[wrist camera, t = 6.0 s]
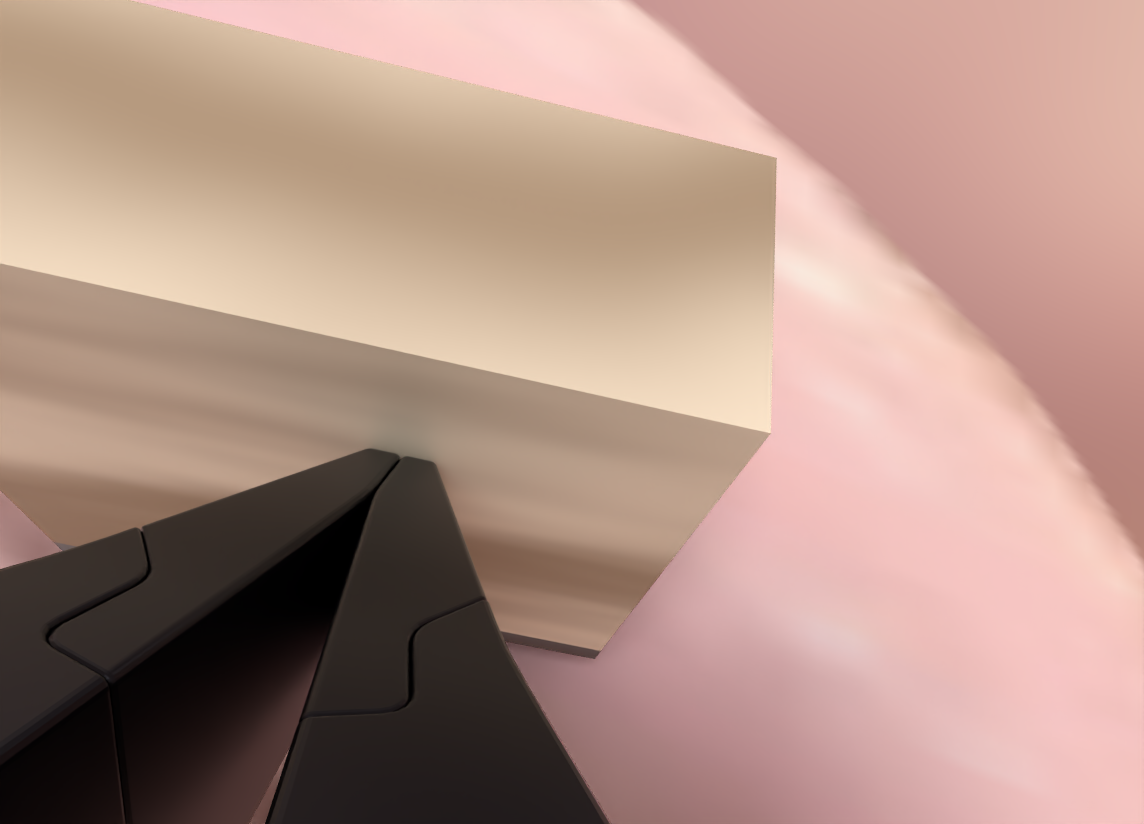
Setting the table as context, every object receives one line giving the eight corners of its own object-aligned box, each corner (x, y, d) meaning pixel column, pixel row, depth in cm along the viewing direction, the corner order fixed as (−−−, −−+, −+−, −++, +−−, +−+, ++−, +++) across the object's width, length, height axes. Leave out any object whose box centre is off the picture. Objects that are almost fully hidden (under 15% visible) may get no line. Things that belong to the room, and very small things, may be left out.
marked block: (594, 659, 15) (770, 433, 8) (65, 553, 15) (-303, 197, 7) (619, 476, 18) (776, 157, 10) (156, 376, 17) (-53, -44, 9)
